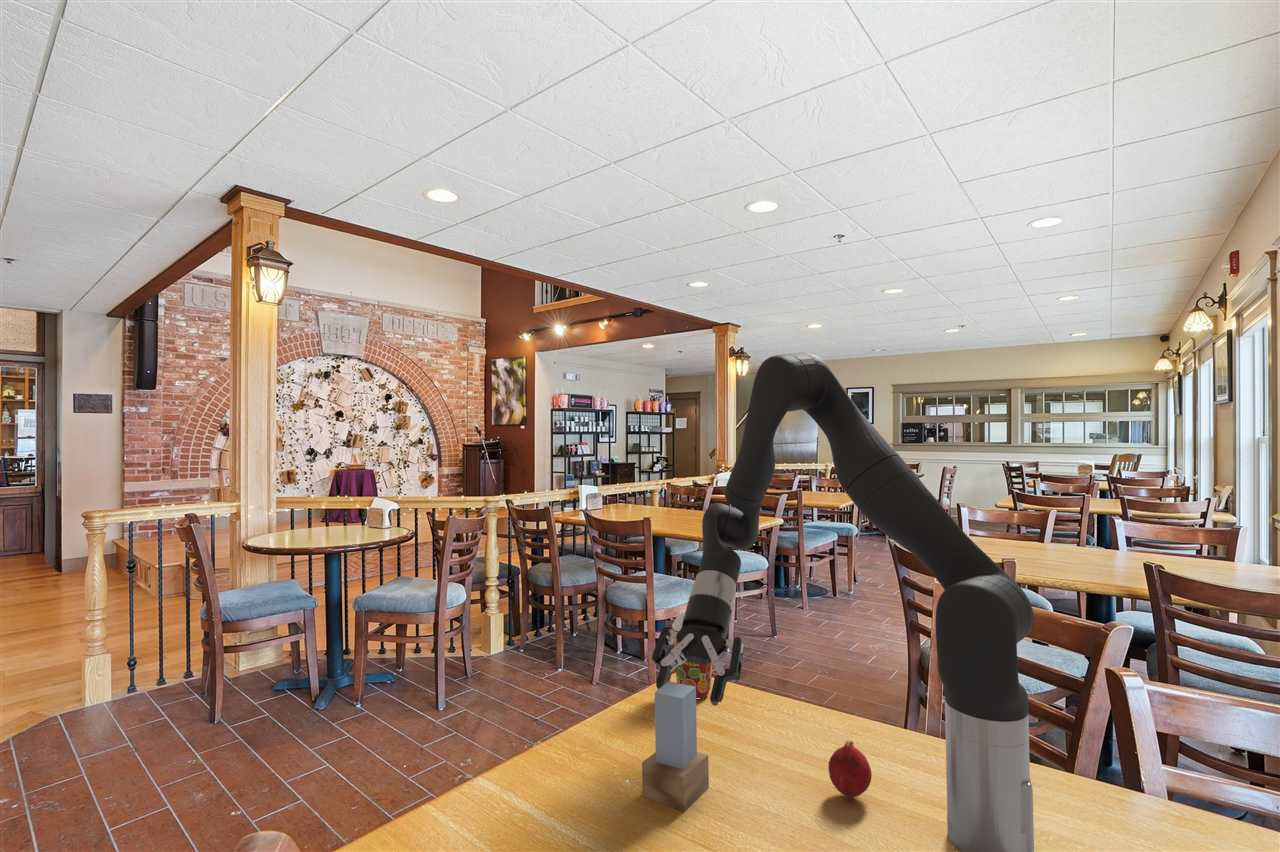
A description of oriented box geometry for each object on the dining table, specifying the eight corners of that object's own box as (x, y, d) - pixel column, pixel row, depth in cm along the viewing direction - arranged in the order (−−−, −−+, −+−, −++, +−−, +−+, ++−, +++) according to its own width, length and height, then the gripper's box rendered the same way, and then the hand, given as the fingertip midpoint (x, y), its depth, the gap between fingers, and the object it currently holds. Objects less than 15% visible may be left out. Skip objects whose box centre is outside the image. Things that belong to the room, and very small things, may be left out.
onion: (875, 812, 85) (873, 753, 85) (831, 807, 86) (830, 749, 86) (868, 788, 90) (867, 733, 90) (827, 784, 91) (826, 729, 92)
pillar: (696, 755, 91) (695, 686, 91) (684, 769, 87) (682, 698, 87) (669, 747, 93) (668, 681, 93) (655, 761, 89) (654, 692, 89)
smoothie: (668, 700, 121) (667, 597, 122) (678, 683, 129) (677, 587, 130) (710, 705, 119) (709, 600, 119) (718, 688, 127) (716, 590, 127)
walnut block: (708, 789, 91) (708, 755, 91) (684, 813, 85) (683, 777, 85) (668, 775, 95) (668, 742, 95) (642, 797, 89) (642, 762, 89)
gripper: (665, 588, 106) (637, 679, 95) (747, 596, 100) (726, 695, 89) (677, 610, 111) (652, 700, 100) (756, 620, 105) (737, 717, 94)
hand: (687, 698), depth 95 cm, fingers open, 8 cm apart
